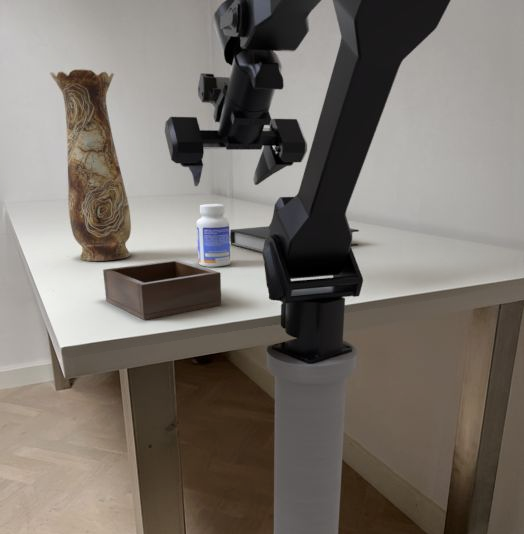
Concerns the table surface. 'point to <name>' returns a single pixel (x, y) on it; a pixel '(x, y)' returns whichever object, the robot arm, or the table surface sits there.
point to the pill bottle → (213, 236)
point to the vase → (93, 168)
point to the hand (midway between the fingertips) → (225, 183)
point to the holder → (162, 288)
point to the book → (255, 237)
